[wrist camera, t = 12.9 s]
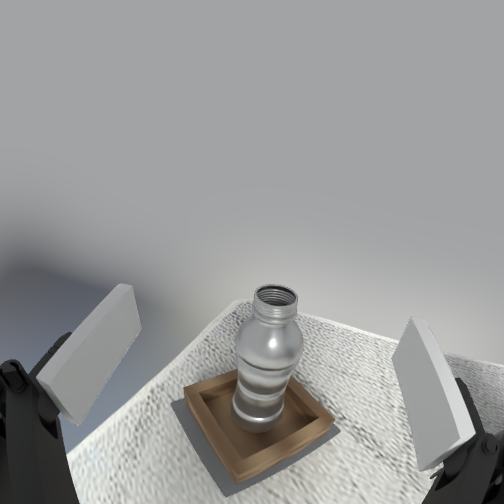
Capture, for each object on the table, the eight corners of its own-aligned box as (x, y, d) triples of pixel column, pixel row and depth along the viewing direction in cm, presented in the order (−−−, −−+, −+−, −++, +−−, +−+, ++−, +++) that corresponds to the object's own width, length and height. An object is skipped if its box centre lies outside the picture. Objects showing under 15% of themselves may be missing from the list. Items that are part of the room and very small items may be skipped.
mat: (274, 365, 42) (275, 364, 42) (339, 432, 30) (340, 430, 30) (171, 404, 33) (170, 403, 33) (225, 497, 21) (225, 496, 21)
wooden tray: (268, 372, 40) (271, 355, 39) (326, 433, 30) (335, 419, 28) (186, 404, 33) (183, 387, 31) (236, 484, 23) (238, 475, 21)
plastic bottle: (239, 394, 35) (250, 270, 27) (285, 407, 33) (319, 285, 25) (221, 428, 29) (223, 305, 21) (273, 444, 27) (309, 326, 19)
